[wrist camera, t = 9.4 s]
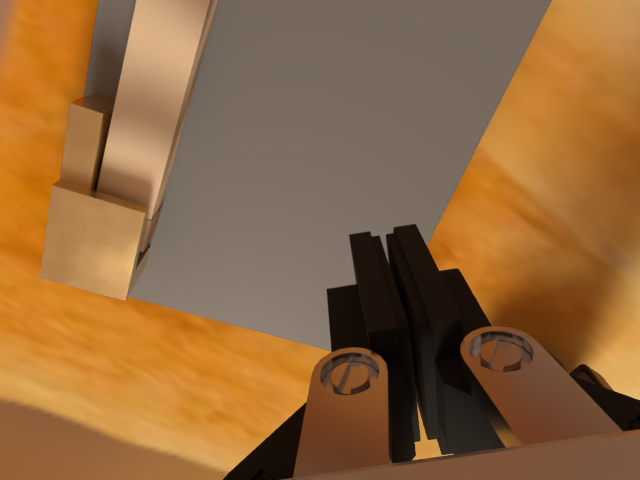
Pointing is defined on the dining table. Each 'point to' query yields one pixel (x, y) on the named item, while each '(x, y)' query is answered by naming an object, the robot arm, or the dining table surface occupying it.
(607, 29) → the dining table surface
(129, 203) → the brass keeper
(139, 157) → the beech link
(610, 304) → the dining table surface
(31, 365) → the dining table surface
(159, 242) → the charcoal board
